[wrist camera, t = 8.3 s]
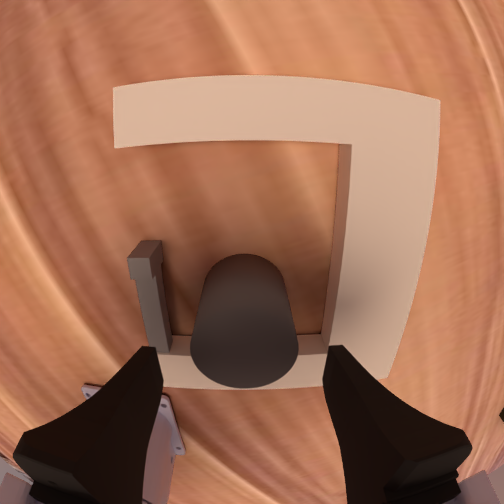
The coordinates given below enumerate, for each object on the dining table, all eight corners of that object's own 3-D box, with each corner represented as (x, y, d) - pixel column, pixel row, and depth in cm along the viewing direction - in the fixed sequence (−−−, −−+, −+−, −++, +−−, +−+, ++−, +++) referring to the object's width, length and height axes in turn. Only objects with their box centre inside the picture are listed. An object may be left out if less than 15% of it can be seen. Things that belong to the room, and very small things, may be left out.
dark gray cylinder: (290, 256, 17) (307, 311, 12) (279, 326, 19) (289, 389, 14) (204, 250, 17) (188, 303, 12) (203, 321, 19) (191, 384, 14)
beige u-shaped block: (378, 360, 21) (389, 381, 18) (161, 366, 20) (154, 390, 18) (421, 101, 14) (444, 99, 12) (128, 91, 13) (109, 86, 11)
